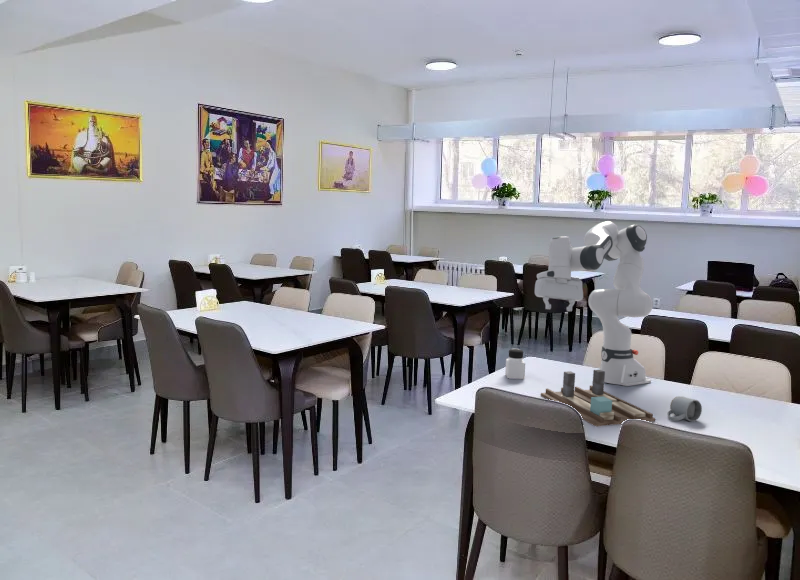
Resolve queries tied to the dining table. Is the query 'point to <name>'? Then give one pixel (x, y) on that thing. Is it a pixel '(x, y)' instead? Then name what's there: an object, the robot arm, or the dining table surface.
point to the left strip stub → (599, 384)
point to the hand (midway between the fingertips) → (558, 310)
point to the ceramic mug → (685, 409)
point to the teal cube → (600, 405)
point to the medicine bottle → (515, 365)
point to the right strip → (569, 394)
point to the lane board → (591, 417)
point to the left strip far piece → (630, 409)
